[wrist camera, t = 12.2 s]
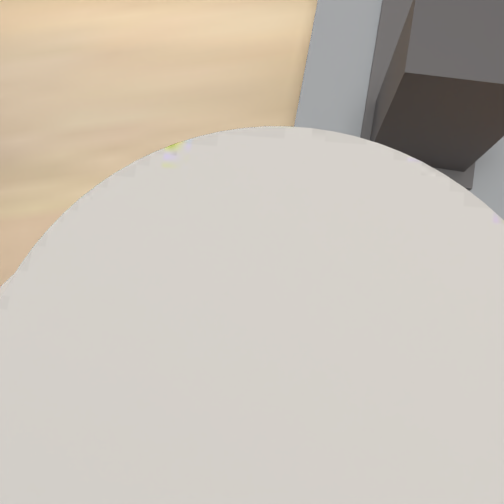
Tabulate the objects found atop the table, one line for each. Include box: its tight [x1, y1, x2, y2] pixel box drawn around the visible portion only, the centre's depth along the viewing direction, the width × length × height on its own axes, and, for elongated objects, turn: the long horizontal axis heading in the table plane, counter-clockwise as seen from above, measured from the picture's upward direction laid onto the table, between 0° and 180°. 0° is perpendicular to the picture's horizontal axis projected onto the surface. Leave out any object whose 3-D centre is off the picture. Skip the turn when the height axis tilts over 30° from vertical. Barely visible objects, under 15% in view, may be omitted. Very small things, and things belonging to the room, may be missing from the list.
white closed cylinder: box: [0, 126, 504, 504], centre depth 11 cm, size 8×8×12 cm
